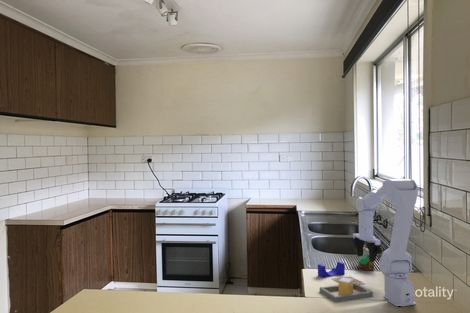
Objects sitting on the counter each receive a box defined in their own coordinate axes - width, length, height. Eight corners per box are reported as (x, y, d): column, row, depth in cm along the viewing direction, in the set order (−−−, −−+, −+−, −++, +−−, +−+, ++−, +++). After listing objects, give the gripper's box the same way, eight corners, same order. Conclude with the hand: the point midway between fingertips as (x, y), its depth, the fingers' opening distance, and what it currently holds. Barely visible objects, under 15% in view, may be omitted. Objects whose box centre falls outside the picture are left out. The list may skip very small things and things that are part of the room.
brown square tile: (366, 286, 135) (366, 284, 135) (345, 289, 132) (345, 286, 132) (350, 278, 145) (350, 276, 145) (330, 281, 142) (330, 278, 142)
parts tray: (372, 298, 123) (372, 292, 123) (335, 304, 118) (335, 297, 118) (354, 289, 132) (354, 282, 132) (319, 294, 127) (319, 287, 127)
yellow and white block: (353, 294, 126) (353, 279, 126) (347, 298, 122) (347, 282, 122) (343, 291, 128) (343, 277, 128) (338, 295, 124) (338, 280, 124)
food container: (352, 265, 165) (352, 244, 165) (365, 265, 164) (365, 244, 165) (361, 273, 152) (361, 250, 153) (374, 273, 152) (374, 251, 152)
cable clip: (337, 273, 152) (337, 260, 152) (344, 277, 147) (344, 263, 148) (315, 277, 147) (315, 263, 147) (322, 280, 143) (322, 266, 143)
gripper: (386, 228, 137) (386, 262, 137) (362, 222, 151) (362, 253, 150) (372, 229, 135) (372, 263, 134) (348, 223, 148) (349, 254, 148)
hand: (366, 258), depth 142 cm, fingers open, 7 cm apart
